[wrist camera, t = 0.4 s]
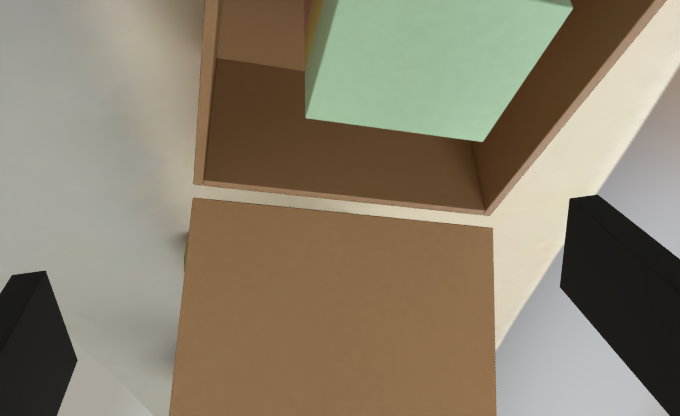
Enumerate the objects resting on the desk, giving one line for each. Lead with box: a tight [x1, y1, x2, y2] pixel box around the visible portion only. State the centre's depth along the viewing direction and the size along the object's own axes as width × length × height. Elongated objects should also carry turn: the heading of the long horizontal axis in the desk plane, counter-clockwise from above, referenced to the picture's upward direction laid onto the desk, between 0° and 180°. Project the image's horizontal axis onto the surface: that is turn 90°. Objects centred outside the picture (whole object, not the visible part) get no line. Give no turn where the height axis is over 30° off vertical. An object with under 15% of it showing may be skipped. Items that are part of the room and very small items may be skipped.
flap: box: [169, 198, 496, 416], centre depth 25 cm, size 9×14×1 cm
